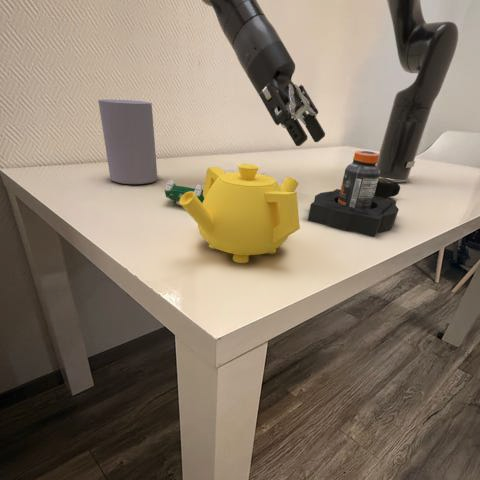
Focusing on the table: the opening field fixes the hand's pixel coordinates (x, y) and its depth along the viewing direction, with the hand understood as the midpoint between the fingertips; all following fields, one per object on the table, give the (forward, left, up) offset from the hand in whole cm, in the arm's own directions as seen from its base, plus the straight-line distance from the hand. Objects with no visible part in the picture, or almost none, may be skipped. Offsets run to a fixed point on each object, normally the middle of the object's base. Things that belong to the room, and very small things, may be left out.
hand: (312, 141), depth 60 cm
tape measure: (-21, +10, -12) cm, 26 cm away
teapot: (+25, +2, -12) cm, 28 cm away
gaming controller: (+15, -17, -12) cm, 25 cm away
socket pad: (0, +10, -12) cm, 16 cm away
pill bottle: (0, +10, -12) cm, 16 cm away
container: (+9, -38, -12) cm, 41 cm away
